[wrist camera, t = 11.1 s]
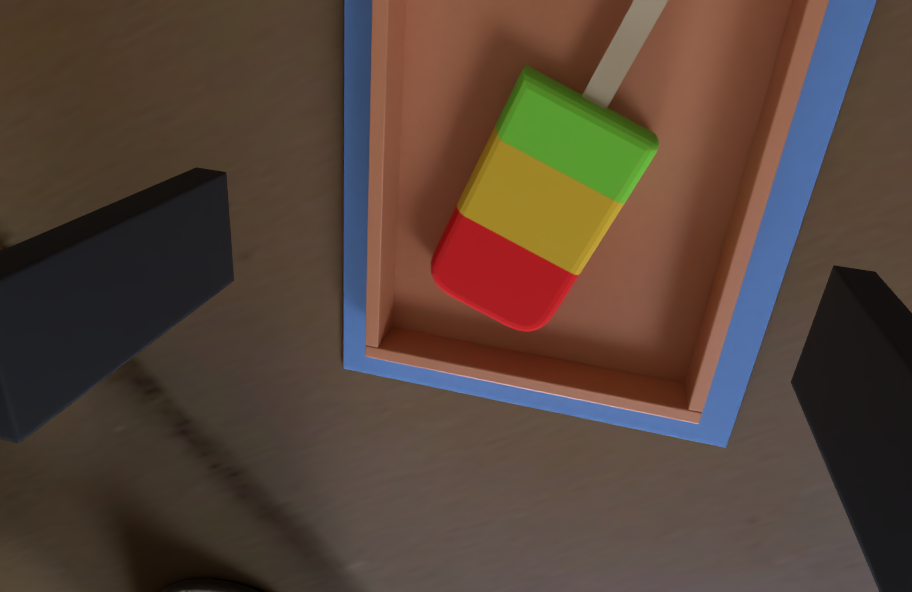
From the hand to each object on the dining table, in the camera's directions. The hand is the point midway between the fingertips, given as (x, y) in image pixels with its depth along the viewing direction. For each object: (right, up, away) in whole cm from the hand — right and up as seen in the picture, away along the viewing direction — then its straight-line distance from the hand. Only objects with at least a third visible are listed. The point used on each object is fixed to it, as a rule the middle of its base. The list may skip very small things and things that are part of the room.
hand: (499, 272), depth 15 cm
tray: (+3, +6, +11) cm, 13 cm away
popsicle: (+3, +5, +11) cm, 12 cm away
